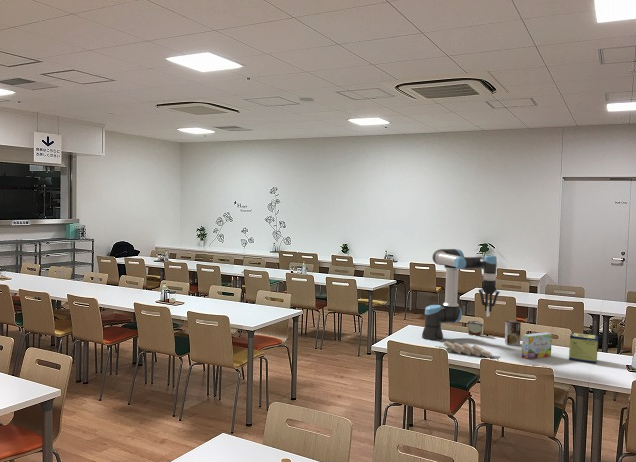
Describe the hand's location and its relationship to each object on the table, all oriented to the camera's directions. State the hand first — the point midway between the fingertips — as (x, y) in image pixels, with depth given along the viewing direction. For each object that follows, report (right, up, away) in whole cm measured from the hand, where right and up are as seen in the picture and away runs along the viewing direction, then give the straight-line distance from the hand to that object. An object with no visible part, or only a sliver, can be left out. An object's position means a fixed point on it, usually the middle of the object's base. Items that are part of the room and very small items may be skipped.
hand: (488, 316), depth 337 cm
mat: (-9, -25, -1) cm, 27 cm away
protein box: (+58, -27, -5) cm, 64 cm away
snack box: (+30, -26, -1) cm, 40 cm away
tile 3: (-11, -23, 0) cm, 26 cm away
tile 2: (-5, -24, -3) cm, 24 cm away
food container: (+10, -24, +58) cm, 64 cm away
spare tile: (-21, -23, +6) cm, 32 cm away
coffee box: (+27, -25, +31) cm, 48 cm away
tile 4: (-16, -23, +3) cm, 28 cm away
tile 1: (0, -24, -6) cm, 25 cm away
